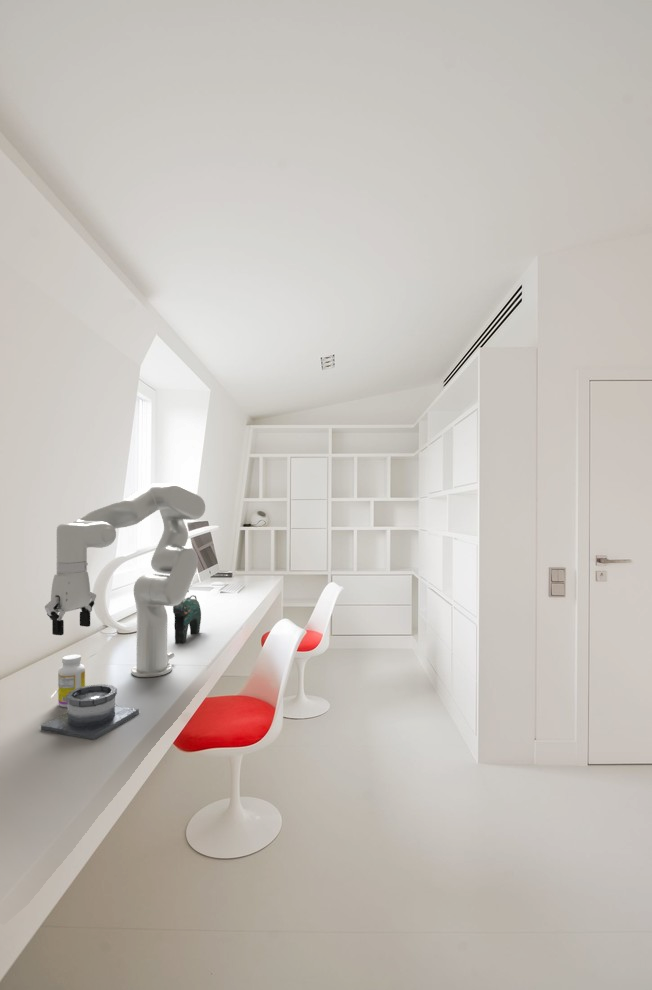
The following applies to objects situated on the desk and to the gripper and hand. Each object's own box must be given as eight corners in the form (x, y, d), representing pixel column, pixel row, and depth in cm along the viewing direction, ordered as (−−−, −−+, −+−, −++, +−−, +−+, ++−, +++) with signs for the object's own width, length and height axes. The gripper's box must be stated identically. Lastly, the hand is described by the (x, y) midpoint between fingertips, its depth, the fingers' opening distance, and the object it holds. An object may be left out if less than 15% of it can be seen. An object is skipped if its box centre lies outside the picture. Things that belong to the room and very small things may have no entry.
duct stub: (89, 706, 144) (89, 678, 144) (138, 713, 139) (138, 685, 139) (40, 730, 129) (41, 699, 129) (94, 739, 124) (94, 708, 124)
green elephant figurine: (184, 645, 205) (184, 593, 205) (168, 644, 206) (168, 592, 206) (203, 632, 225) (204, 585, 225) (189, 631, 226) (189, 584, 226)
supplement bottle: (78, 697, 151) (78, 651, 151) (89, 702, 147) (89, 656, 147) (53, 704, 146) (54, 657, 146) (64, 710, 142) (65, 662, 142)
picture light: (62, 683, 163) (63, 676, 163) (78, 683, 164) (78, 676, 164) (48, 700, 150) (48, 693, 150) (65, 699, 150) (65, 692, 150)
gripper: (84, 563, 156) (84, 622, 156) (35, 571, 139) (35, 637, 139) (105, 564, 153) (105, 624, 153) (57, 573, 137) (57, 639, 137)
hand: (71, 630), depth 146 cm, fingers open, 9 cm apart
